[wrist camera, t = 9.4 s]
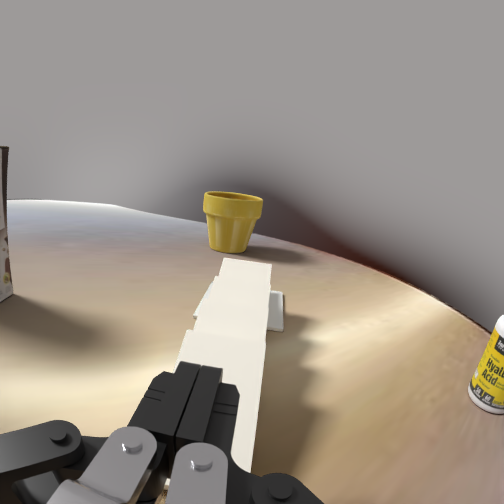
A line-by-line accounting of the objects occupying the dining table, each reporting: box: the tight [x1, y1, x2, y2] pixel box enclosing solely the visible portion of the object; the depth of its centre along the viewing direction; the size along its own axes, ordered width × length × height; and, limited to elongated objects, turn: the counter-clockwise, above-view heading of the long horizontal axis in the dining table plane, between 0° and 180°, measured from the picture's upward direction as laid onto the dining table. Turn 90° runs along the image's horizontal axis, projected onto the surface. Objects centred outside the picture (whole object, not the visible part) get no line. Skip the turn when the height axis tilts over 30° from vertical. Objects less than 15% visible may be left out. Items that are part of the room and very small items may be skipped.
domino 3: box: [193, 298, 269, 342], centre depth 21 cm, size 2×5×10 cm
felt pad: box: [193, 282, 283, 332], centre depth 36 cm, size 10×9×1 cm
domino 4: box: [163, 329, 266, 490], centre depth 16 cm, size 2×5×10 cm
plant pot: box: [203, 192, 263, 253], centre depth 58 cm, size 10×10×10 cm
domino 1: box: [219, 258, 272, 284], centre depth 30 cm, size 2×5×10 cm
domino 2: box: [208, 276, 271, 308], centre depth 25 cm, size 2×5×10 cm
